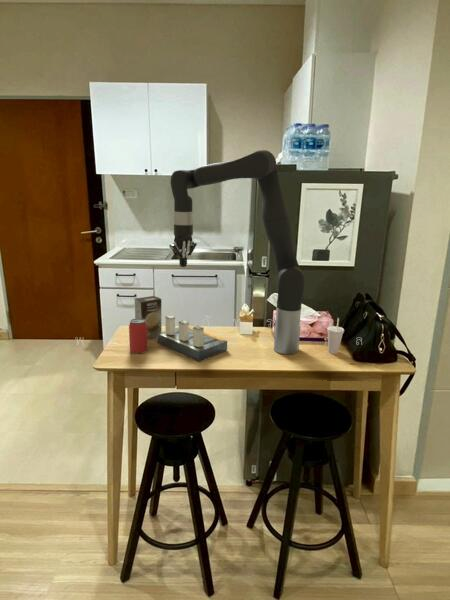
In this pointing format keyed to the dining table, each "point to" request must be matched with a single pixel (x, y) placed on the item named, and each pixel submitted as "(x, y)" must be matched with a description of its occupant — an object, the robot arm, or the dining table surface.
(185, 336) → the handle
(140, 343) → the beer can
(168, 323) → the handle
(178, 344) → the panel
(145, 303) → the coffee box
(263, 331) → the dining table surface
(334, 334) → the smoothie
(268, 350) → the dining table surface
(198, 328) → the handle
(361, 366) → the dining table surface
